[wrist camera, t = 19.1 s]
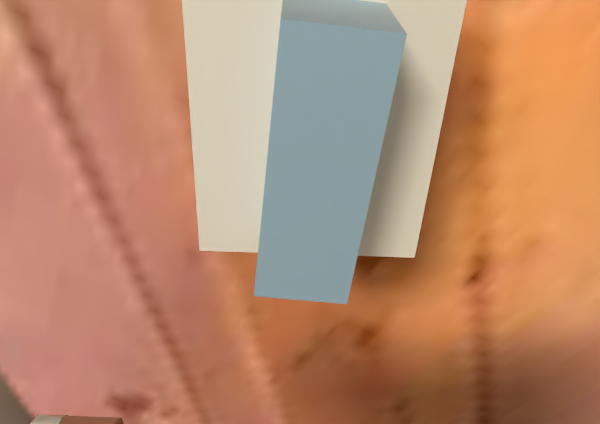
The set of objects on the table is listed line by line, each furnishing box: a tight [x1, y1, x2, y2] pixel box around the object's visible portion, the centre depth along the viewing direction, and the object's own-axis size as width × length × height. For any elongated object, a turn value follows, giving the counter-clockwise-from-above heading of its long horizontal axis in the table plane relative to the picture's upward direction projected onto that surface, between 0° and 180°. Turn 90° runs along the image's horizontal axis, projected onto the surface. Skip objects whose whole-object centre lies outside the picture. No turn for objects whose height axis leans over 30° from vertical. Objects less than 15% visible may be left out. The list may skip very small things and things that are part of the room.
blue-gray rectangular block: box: [254, 0, 407, 304], centre depth 19 cm, size 10×4×4 cm, turn 173°
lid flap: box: [182, 0, 467, 258], centre depth 21 cm, size 12×10×1 cm
